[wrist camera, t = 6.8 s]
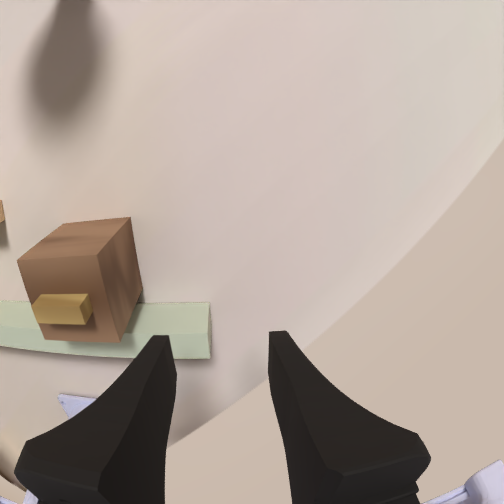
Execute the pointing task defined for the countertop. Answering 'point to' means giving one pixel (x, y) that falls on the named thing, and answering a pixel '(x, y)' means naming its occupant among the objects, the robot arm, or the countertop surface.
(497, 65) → the countertop surface
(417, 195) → the countertop surface
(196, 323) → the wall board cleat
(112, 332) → the cabinet block
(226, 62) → the countertop surface
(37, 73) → the countertop surface
